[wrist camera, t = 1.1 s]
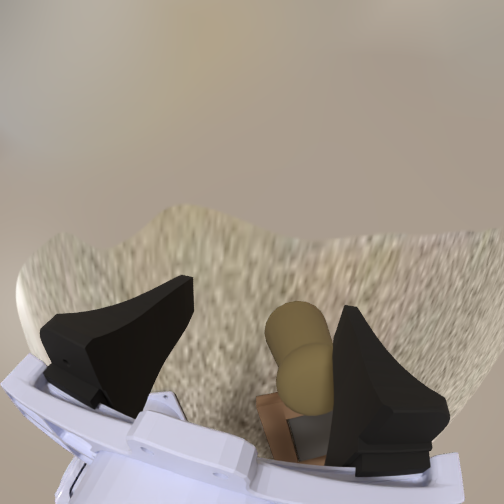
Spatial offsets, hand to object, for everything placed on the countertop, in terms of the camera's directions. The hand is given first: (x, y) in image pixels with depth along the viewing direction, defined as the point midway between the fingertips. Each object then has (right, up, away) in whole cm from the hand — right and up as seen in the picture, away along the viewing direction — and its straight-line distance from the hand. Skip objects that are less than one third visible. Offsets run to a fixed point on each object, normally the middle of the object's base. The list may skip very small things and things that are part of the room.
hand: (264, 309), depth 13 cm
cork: (+4, -5, +14) cm, 15 cm away
